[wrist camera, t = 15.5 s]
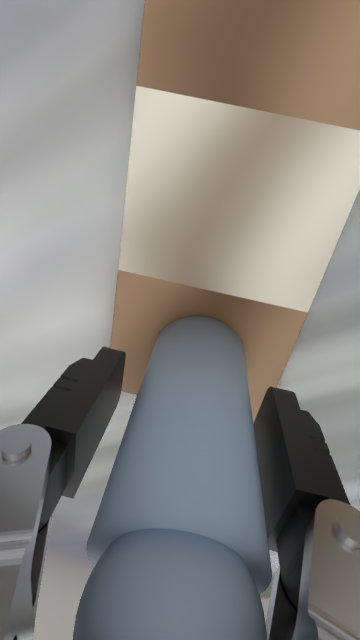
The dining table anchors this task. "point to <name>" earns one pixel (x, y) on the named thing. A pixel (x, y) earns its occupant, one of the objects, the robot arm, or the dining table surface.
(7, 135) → the dining table surface
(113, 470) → the pale blue capsule
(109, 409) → the robot arm
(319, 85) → the board
